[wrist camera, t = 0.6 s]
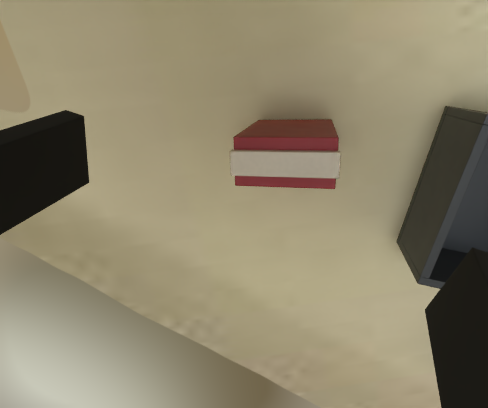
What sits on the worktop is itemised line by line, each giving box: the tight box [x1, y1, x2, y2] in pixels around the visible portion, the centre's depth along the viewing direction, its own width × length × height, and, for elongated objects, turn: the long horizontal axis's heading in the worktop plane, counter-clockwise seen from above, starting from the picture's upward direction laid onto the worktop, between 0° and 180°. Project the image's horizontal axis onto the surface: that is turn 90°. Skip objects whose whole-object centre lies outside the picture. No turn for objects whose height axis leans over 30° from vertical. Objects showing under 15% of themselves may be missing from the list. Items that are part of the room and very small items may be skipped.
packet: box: [230, 119, 341, 189], centre depth 31 cm, size 4×8×13 cm, turn 92°
